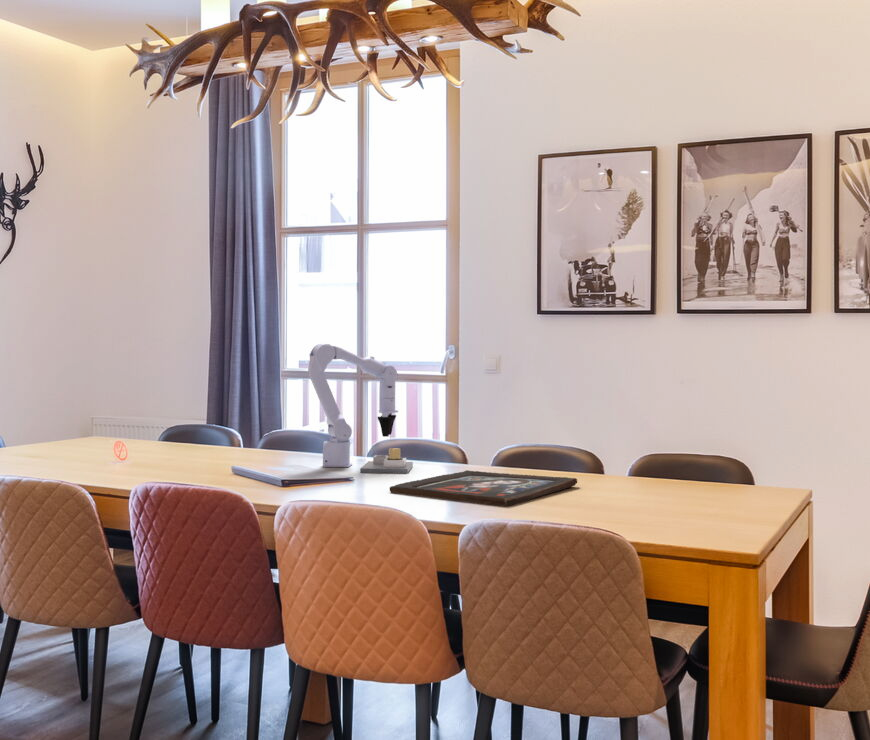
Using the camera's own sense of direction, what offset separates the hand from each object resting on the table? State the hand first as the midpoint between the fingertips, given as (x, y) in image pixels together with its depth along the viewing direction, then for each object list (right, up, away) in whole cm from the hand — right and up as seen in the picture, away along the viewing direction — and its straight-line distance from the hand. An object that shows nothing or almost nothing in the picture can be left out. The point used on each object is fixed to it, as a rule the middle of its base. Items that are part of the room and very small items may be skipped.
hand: (386, 435), depth 318 cm
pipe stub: (+4, -9, -18) cm, 21 cm away
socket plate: (+1, -11, -15) cm, 18 cm away
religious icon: (+33, -12, -59) cm, 69 cm away
